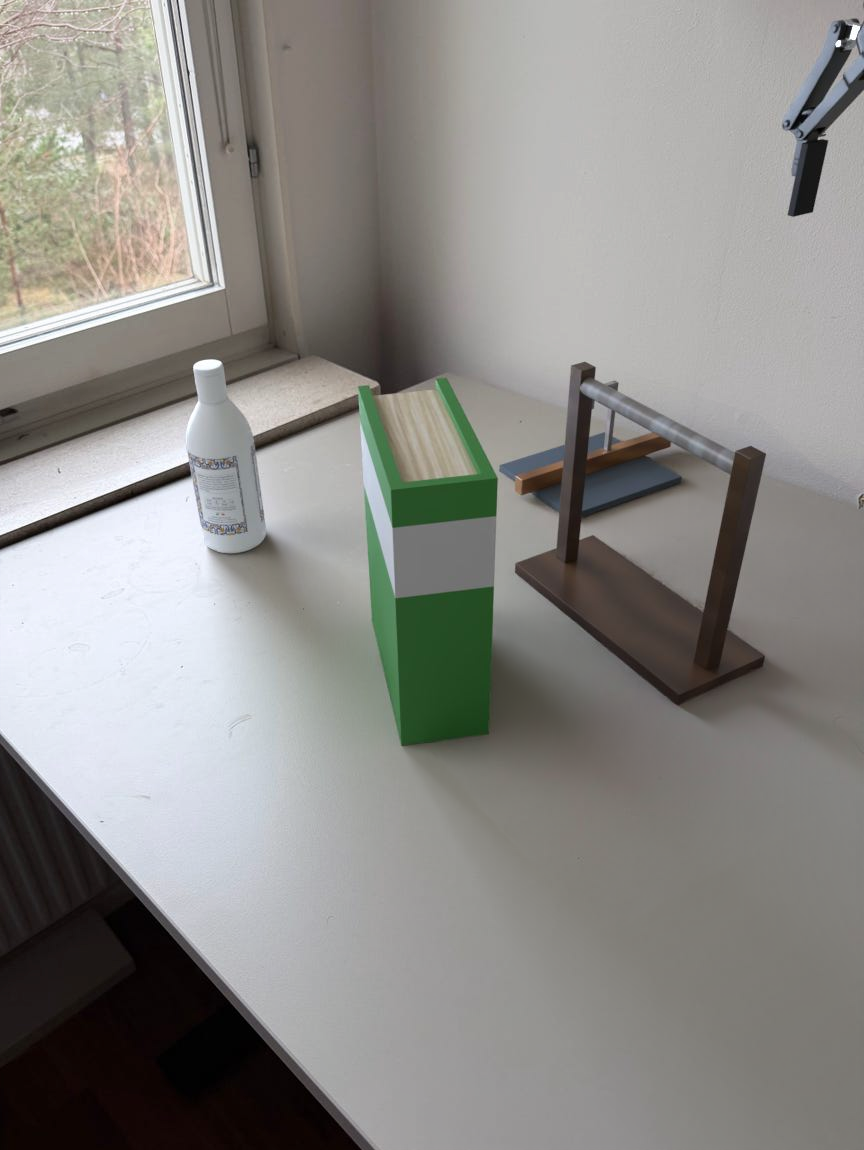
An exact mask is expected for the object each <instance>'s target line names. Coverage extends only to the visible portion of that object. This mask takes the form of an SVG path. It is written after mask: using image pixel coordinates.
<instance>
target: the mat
mask: <svg viewBox="0 0 864 1150" xmlns="http://www.w3.org/2000/svg"><path fill="white" fill-rule="evenodd" d="M605 432H606V431H604V432H601V433H597V434H594V435H591V436H589V444H588V453H589V452H592V451H595V450H598V449H601V448H604V441H605ZM620 442H622V440H619V439H618V438H616V437H614V436H613V437H612V445H614V444H617V443H620ZM564 448H565V444H562V445H559V446H556V447H553V448H549V449H547V450H543V451H540V452H537V453H533V454H531V455H527V456H524V457H521V458H518V459H517V458H516V459H514V460H512V461H508V462H505V463H502V464H499V465H498V467H499V468H498V470H499V472H500V473H502V474H503V475H505V476H506V477H508V478H509V479H510V480H512V481H513V482H515V477H516V475H519V474H522V473H525V472H529V471H532V470H535V469H538V468H541V467H544V466H548V465H551V464H554V463H557V462H560V461H563V460H564ZM682 479H683V476H682V475H680V474H678V473H676V472H675V471H673V470H671V469H669V468H668V467H666V466H664V465H663V464H661V463H659V462H657V461H656V460H655V459H652V458H651V457H649V456H648V455H644V456H641V457H638V458H635V459H632V460H629V461H626V462H623V463H620V464H617V465H614V466H611V467H608V468H605V469H602V470H599V471H595V472H592V473H589V474H586V476H585V486H584V496H583V507H582V517H581V518H583V517H586V516H589V515H592V514H594V513H598V512H600V511H603V510H606V509H609V508H612V507H615V506H618V505H620V504H623V503H626V502H628V501H632V500H635V499H637V498H640V497H643V496H646V495H648V494H652V493H654V492H657V491H660V490H663V489H666V488H669V487H672V486H675V485H677V484H680V483H682ZM561 486H562V483H559V484H556V485H553V486H550V487H546V488H543V489H540V490H537V491H534V492H531V493H530V494H531V495H533V496H534V497H536V498H538V499H539V500H540V501H541V502H543V503H544V504H546V505H547V506H549V507H550V508H552V509H553V510H555V511H556V512H557V513H559V511H560V498H561Z"/></svg>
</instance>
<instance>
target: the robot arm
mask: <svg viewBox="0 0 864 1150" xmlns="http://www.w3.org/2000/svg"><path fill="white" fill-rule="evenodd" d="M862 8H863V9H864V1H863V3H862ZM855 47H857V52H858V55H859V56H857V58H856V59H855V60H854V61H853V62H852V63H851V64H850V66H849V67H848V68H847V69H846V70H845V71H844V72H843V74H842V78H841V79H840V80H839V82H838V83H837V84H835V86H834V87H833V88H832V86H833V84H834V83H835V81H836V79H837V78H838V76H839V74H840V72H841V71H842V69H843V68H844V66H845V64H846V62H847V61H848V60H849V57H850V55H851V53H852V51H853V49H855ZM831 88H832V89H831ZM830 89H831V90H830ZM829 91H830V92H829ZM863 91H864V20H863V21H862V23H861V22H860V20H859V18H855V17H853V18H846V19H845V18H844V19H839V20H838V19H837V20H834V21H832V22H831V23H830V25H829V29H828V32H827V35H826V39H825V43H824V46H823V49H822V51H821V52H820V54H819V56H818V57H817V59H816V61H815V63H814V64H813V66H812V68H811V70H810V72H809V74H808V75H807V77H806V79H805V80H804V82H803V84H802V86H801V88H800V89H799V91H798V93H797V95H796V97H795V98H794V100H793V102H792V104H791V105H790V107H789V109H788V110H787V112H786V114H785V116H784V117H783V119H782V122H781V128H782V129H783V131H786V132H787V131H789V132H790V133H791V134H793V135H794V137H795V139H796V145H795V151H794V155H793V159H792V164H791V176H792V177H794V181H793V184H792V185H793V186H792V191H791V196H790V201H789V205H788V210H787V216H789V217H791V218H795V217H798V216H804V215H807V214H812V213H814V209H815V205H816V200H817V195H818V191H819V185H820V181H821V177H822V173H823V168H824V164H825V158H826V155H827V150H828V149H827V148H828V144H829V139H823V138H824V137H825V136H827V134H826V131H827V130H828V129H829V128H830V127H831V126H832V125H833V124H834V122H836V120H838V118H839V117H840V116H842V114H843V113H844V112H845V111H846V110H847V109H848V108H849V107H850V106H851V104H853V102H854V101H855V100H856V99H857V98H858V97H859V96H860V95H861V94H862V93H863ZM822 137H823V138H822ZM819 138H820V139H819Z"/></svg>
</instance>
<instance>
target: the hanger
mask: <svg viewBox="0 0 864 1150" xmlns="http://www.w3.org/2000/svg"><path fill="white" fill-rule="evenodd" d="M603 384H605V385H607V386H609V387H611V388H613V389H614V390H616V391H618V392H619V382H618V381H617V380H611V381H608V382H604V383H603ZM595 402H596V401H595V400H593V402H592V410H594V409H595ZM606 414H607V415H606V424H605V431H604V432H605V441H604V448H601V449H598V450H595V451H592V452H589V453H588V455H587V465H586V474H589V473H592V472H595V471H599V470H602V469H605V468H608V467H611V466H614V465H617V464H620V463H623V462H626V461H629V460H632V459H635V458H638V457H641V456H644V455H645V456H648V455H650V454H654V453H656V452H660V451H663V450H666V449H669V448H671V447H672V443H671V442H670V441H668V440H666V439H664V438H662V437H660V436H659V435H657V434H655V433H653V432H649V433H646V434H642V435H639V436H636V437H633V438H629V439H626V440H623V441H621V442H620V443H617V444H614V445H612V437H614V428H615V418H616V412H615V411H613V410H611V409H609V408H607V413H606ZM563 461H564V460H563ZM563 461H560V462H557V463H554V464H551V465H548V466H544V467H541V468H538V469H535V470H532V471H529V472H525V473H522V474H519V475H516V477H515V481H514V492H516V493H517V494H519V495H520V496H525V495H529V494H532V493H531V492H534V491H537V490H540V489H543V488H546V487H550V486H553V485H556V484H559V483H562V473H563Z"/></svg>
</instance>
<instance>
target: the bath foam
mask: <svg viewBox="0 0 864 1150" xmlns="http://www.w3.org/2000/svg"><path fill="white" fill-rule="evenodd" d="M192 368H193V369H192V370H193V374H194V375H193V376H194V382H195V388H196V393H197V398H198V401H197V403H196V405H195V407H194V409H193V411H192V413H191V415H190V418H189V421H188V423H187V427H186V434H185V444H186V452H187V458H188V463H189V469H190V475H191V481H192V486H193V490H194V496H195V501H196V506H197V507H196V508H197V513H198V518H199V523H200V524H199V525H200V527H201V534H202V538H203V542H204V544H205V545H206V546H207V547H208V548H209V549H211V550H213V551H215V552H218V553H221V554H239V553H244V552H248V551H251V550H253V549H254V548H256V547H258V546H259V545H261V543H263V541H264V539H266V535H267V526H266V519H265V510H264V503H263V495H262V489H261V481H260V473H259V465H258V459H257V451H256V445H255V443H256V442H255V438H254V434H253V430H252V427H251V425H250V423H249V421H248V420H247V417H245V414H243V412H242V411H241V410H240V408H239V407H238V406H237V404H235V402H233V401H232V400H231V399H230V398H229V396H228V390H227V382H226V376H225V375H226V374H225V368H224V365H223V362H222V361H221V360H218V359H203V360H199V361H197V362H195V363H194V364H193V367H192Z"/></svg>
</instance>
